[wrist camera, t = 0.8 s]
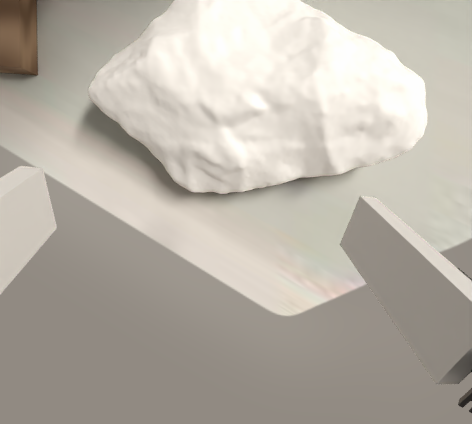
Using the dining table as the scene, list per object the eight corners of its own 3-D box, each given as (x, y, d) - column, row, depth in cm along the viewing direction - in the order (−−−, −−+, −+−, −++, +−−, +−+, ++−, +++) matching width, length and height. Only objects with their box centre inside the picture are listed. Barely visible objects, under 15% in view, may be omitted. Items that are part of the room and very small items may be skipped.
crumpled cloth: (113, -27, 31) (54, -89, 22) (434, -14, 28) (510, -78, 19) (123, 176, 38) (81, 190, 29) (380, 202, 35) (419, 226, 26)
